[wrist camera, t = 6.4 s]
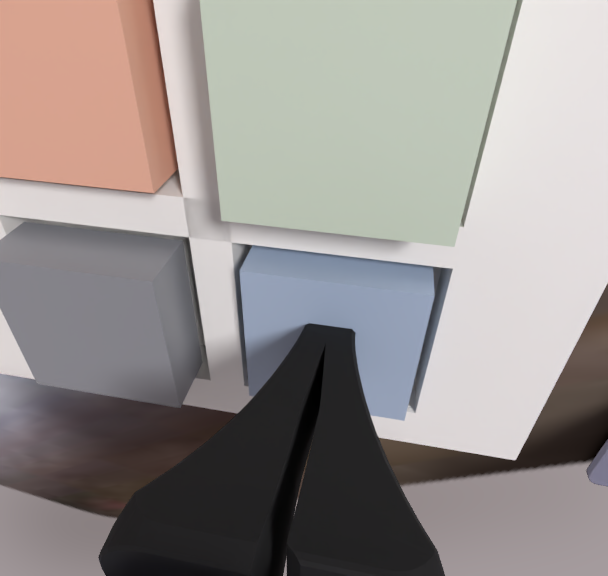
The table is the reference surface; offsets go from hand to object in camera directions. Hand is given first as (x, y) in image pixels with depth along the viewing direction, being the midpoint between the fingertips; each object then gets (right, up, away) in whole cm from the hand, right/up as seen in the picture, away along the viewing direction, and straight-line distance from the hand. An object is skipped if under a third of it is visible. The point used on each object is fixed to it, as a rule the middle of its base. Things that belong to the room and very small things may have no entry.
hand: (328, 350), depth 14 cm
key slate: (0, +1, +2) cm, 2 cm away
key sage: (0, +6, -3) cm, 7 cm away
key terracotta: (-6, +8, -2) cm, 10 cm away
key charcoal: (-7, +2, +2) cm, 7 cm away
